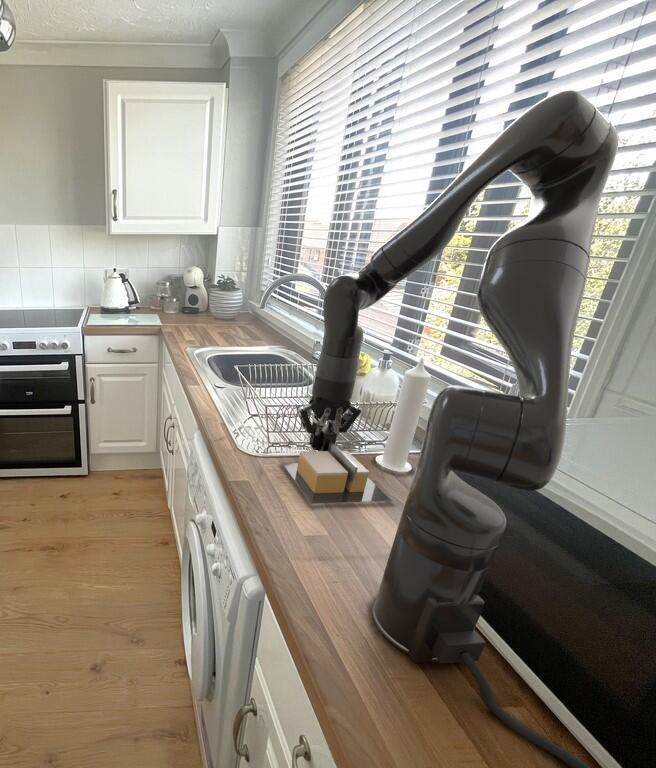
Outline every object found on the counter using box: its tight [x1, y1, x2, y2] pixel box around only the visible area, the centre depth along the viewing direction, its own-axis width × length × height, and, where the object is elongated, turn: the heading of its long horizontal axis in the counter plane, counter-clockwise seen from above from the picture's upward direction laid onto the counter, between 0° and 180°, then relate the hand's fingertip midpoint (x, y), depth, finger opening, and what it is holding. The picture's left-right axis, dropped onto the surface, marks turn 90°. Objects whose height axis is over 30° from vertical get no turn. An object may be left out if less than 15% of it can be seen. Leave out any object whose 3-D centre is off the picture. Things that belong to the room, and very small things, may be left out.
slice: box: [341, 450, 370, 492], centre depth 83 cm, size 8×3×5 cm, turn 5°
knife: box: [316, 423, 358, 483], centre depth 85 cm, size 16×2×5 cm, turn 4°
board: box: [281, 462, 393, 505], centre depth 84 cm, size 14×16×1 cm
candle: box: [375, 357, 432, 473], centre depth 87 cm, size 7×7×25 cm
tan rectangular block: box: [297, 450, 348, 493], centre depth 83 cm, size 8×6×5 cm
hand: (320, 448), depth 90 cm, fingers closed on knife, 2 cm apart
